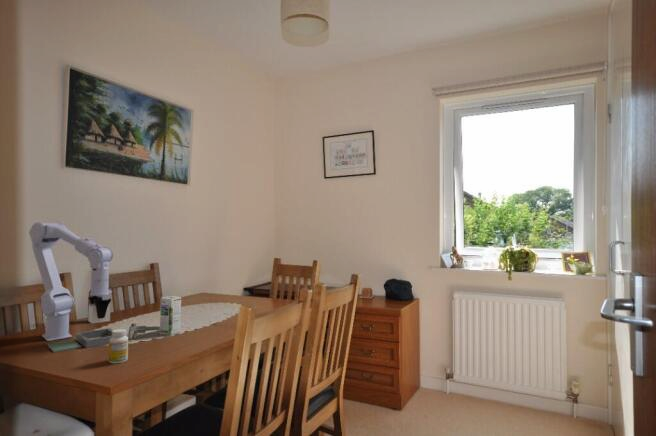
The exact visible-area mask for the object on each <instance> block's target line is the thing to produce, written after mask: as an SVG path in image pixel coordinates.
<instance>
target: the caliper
mask: <svg viewBox="0 0 656 436" xmlns="http://www.w3.org/2000/svg"><path fill="white" fill-rule="evenodd" d="M149 331H151V332H152V331H160V325H157V326H153V325H152V326H147V325H137V323H135V322H134V323H131V326H129V329H128V335H127V337H128V341H132V340H136V338H137V336H138V334H139V333H140V334H146V332H149Z"/></svg>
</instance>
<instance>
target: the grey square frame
mask: <svg viewBox="0 0 656 436" xmlns="http://www.w3.org/2000/svg"><path fill="white" fill-rule="evenodd" d="M113 330H114V329H113V328H110V327H107V328H101V329H95V330H94V329H93V330H89V331H82V332H76V334H75V336H76V338H75V340H76V341H77V343H80V344H81V346H83V347H84V348H86V349H88V348H95V347H99V346H105V345H109V340H110V338H112V337H113V336H112V331H113ZM106 335H107V336H106ZM99 336H101V337H99ZM94 337H95V338H94Z"/></svg>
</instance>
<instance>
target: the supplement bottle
mask: <svg viewBox="0 0 656 436" xmlns="http://www.w3.org/2000/svg"><path fill="white" fill-rule="evenodd" d="M112 330H113V331H112V336H113V337H112V338H110V340H109V344H108V362H109V363H110V364H122V363H126V361H128V358H129V339H128V335H127V329H125V328H118V329H112Z"/></svg>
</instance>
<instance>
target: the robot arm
mask: <svg viewBox="0 0 656 436" xmlns="http://www.w3.org/2000/svg"><path fill="white" fill-rule="evenodd" d="M28 233H29V236H30V239H31V245H32V252H33V254H34V258H35V261H36V263H37V264H36V265H37V267H38V270H39V274H40V277H41V280H42V284H43V286H44V290H45V292H44V293H43V294H42V296H41V297H40V300H41V301H40V302H41V305H40V308H41V311H42V313H43V314H44V316H46V317H45V326H44V327H45V333H44V334H42V335H41V336H42V338H44V340H46V341H47V342H50V341H55V340H56V341H57V340H62V339H69V338H72V337H73V335H72V334H71V333H70V313H71V311H72V310H73V308H74V306H75V299H74V297H73V295H71V292H70V290H69V289H68V288H67V287H64V286H63V283H62V281H61V278H60V275H59V271H58V269H57V265H56V261H55V259H54V255H53V252H52V247H53V246H55V245H56V243H58V242H59V241H60V239H61V240H63V241H65V242H67V243H68V244H70V245H72V246H73V247H74V250H75V251H76V252H78V253H80V254H81V255H83V256H84V257H86V258H87V259H88V262H89V265H90V269H91V272H90V273H91V275H90V276H91V277H90V290H91V292H90V295H93V297H89V296H88V297H87V299H89V301H90V303H91V305H93V303H95V306H96V310H97V317H98V319H99V318H105V315H106V311H107V307H108V305H109V304H110V303H111V301H112V298H110V296H109V295H110V294H112V293H113V290H109V283H110V282H109V281H110V279H109V278H110V277H109V276H110V262H111V261H112V260H113V257H114V253H113V250H111V248H110V247H107V246H105V247H102V246H101V244H100V243H98V244H97V243H96V242H94V241H92V238H90V237H82V238H81V237H80V236H79V235H77V234H75V233H74V232H72V231H71V230H69V229H68V228H67V227H66V225H65V224H62V223H61V222H40V221H39V222H35V223H33V224H32V226H31V227H30V230H29V231H28Z"/></svg>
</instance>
